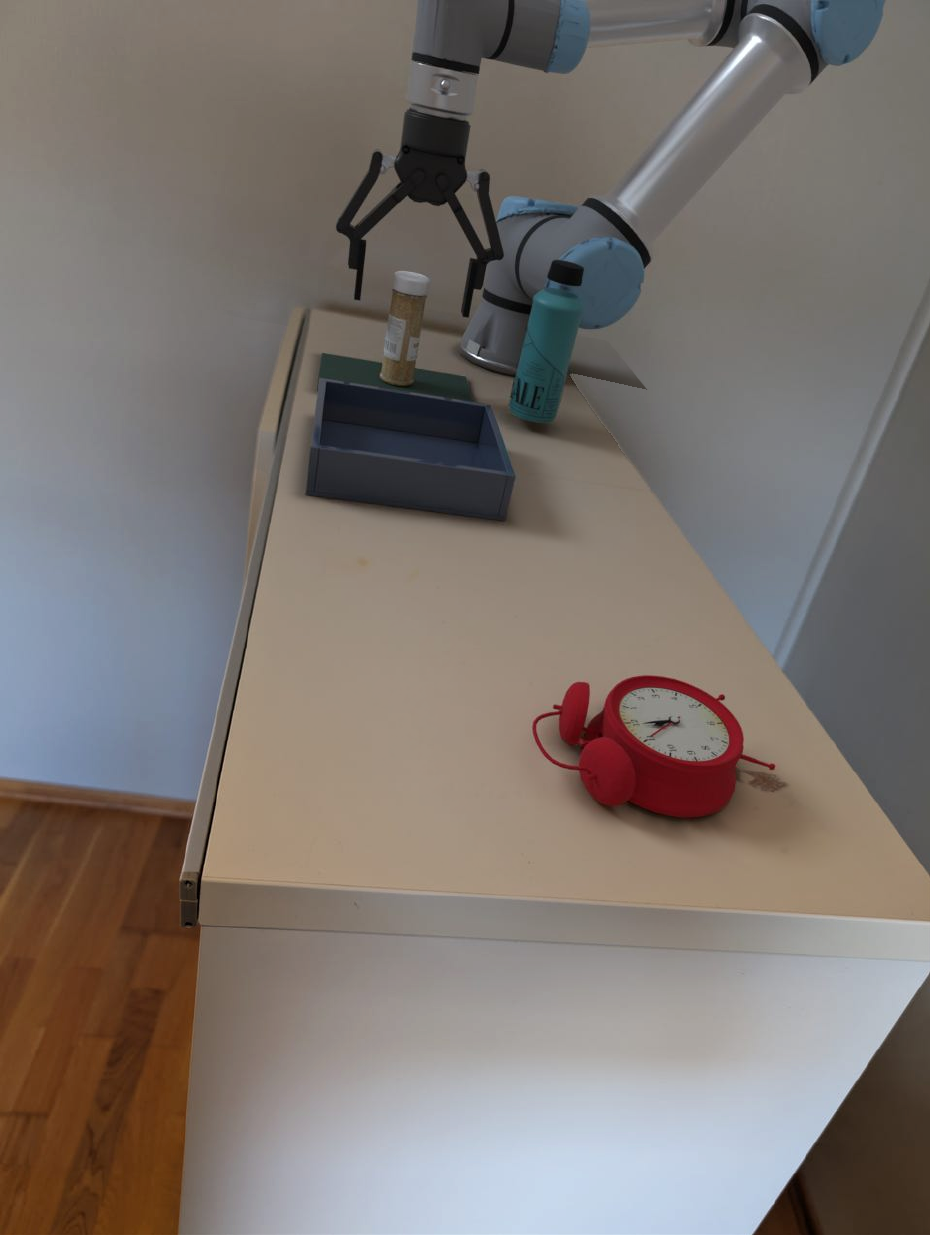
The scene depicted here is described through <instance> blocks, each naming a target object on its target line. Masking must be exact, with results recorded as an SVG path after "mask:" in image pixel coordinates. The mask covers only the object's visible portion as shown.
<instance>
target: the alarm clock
mask: <svg viewBox="0 0 930 1235" xmlns="http://www.w3.org/2000/svg"><path fill="white" fill-rule="evenodd" d="M590 687H591V686H590V684H589V682H586V681H576V682H574V683H572V684H571V685H570V686H569V687H568V688H567V690H566V692H565V693H564V696H563V699H562V702H561V705H559V704H553V705H552V708H553V710H557V711H549V712H546V713H542V714H540V715H538V716H537V717H536V718H535V719H534V720H533V722H532V727H531V730H532V736H533V738H534V741H535V743H536V745H537V747H538V749H539V751H540V752H541V754H542V755H543V757H545V759H547V760H548V761H549V762H550V763H551V764H553V765H555V766H557V767H559V768H562V769H564V770H565V769H566V770H570V771H578V772H579V776H580V780H581V782H582V785H583V787H584V789H585V790H586V791H587V792H588V794H589V795H590V796H591V797H592V798H593V799H594V800H595V801H596V802H598V803H600V804H602V805H605V806H607V807H617V806H620V805H624V804H626V803H627V802H628V801H629V802H630V803H633V804H635V805H637V806H638V807H641V808H642V809H646V810H647V811H651V812H654V813H658V814H660V815H664V816H671V817H677V818H698V817H705V816H709V815H711V814H715V813H716V812H719V811H721V809H723V808H724V807H725V806H726V805H728V803H729V802H730V800H731V799H732V797H733V795H734V793H735V791H736V787H737V773H736V766H737V764H738V762H739V760H742V761H743V760H744V761H746V762H750V763H752V764H756V765H759V766H762V767H766V768H768V769H769V771H775V769H776V765H775V763H772V762H771V763H767V762H764V761H761V760H758V759H757V758H755V757H752V756H749V755H746V754H743V752H744V740H745V737H744V733H743V732H744V731H743V729H742V726H741V725H740V723H739V721H738V719H737V717H736V716H735V715H734V714H733V713H732V711H731V710H730V709H729V708H728V707H727V706H726V705H724V704H723V702H721V701H725V700H726V695H725V694H723V693H721V694H719V695H718V696H717V697H714V696H713V695H712V694H710V693H708V692H707V691H704V690H703V689H701V688H699V687H697V686H695V685H693V684H691V683H689V682H685V681H683V680H679V679H676V678H673V677H672V678H671V677H667V676H661V675H650V674H648V675H647V674H644V675H636V676H635V675H634V676H631V677H627V678H626V679H622V680H621V681H620V682H618V683H616V685H615V686H614V687H613V688H612V689H611V690H610V691H609V693H608V694H607V696H606V699H605V702H604V705H603V709H602V710H601V711H600V712H599V713H598V714H596V715H594V717H592V719H591V720H590V721H589V722H588V724H587V726H586V727H585V725H586V720H587V716H588V711H589V705H590V697H591V689H590ZM552 716H553V717H554V716H558V731H559V735H560V737H561V740H563V742H564V743H567V744H569V745H571V746H577V745H578V744H579V745H580V747H581V748H583V749H582V751H581V753H580V756H579V758H578V759H579V760H578V765H570V764H567V763H562V762H559V761H558V760H556V759H554V758H553V757H552V756H551V755H550V754H549V753H548V752H547V751H546V749H545V747H544V746H543V745H542V742H541V740H540V738H539V735H538V731H537V725H538V723H539V721H541V720H542V719H545V718H548V717H552ZM583 732H584V734H583ZM582 735H583V738H581V737H582Z"/></svg>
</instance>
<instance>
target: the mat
mask: <svg viewBox="0 0 930 1235" xmlns="http://www.w3.org/2000/svg"><path fill="white" fill-rule="evenodd" d="M382 363H383V362H380V361H374V360H369V359H364V358H363V359H362V358H357V357H350V356H344V355H340V354H339V355H338V354H334V353H333V354H332V353H326V352H321V358H320V364H319V365H320V366H319V372H318V380H317V388H316V393H318V385H319V378H324V379H331V380H337V381H343V382H350V383H356V384H362V385H369V386H375V387H381V388H387V389H394V390H400V391H406V392H412V393H419V394H425V395H431V396H438V397H444V398H450V399H456V400H463V401H469V402H474V399H473V396H472V393H471V389H470V386H469V383H468V379H467V376H466V375H461V374H460V375H459V374H453V373H447V372H443V371H442V372H441V371H435V370H430V369H425V368H418V367H417V368H416V367H415V370H414V376H413V378H414V382H413V383H412V385H409V386H396V385H391V384H388V383H386V382H384V381H383V380H382V379H381V378H380V373H381V371H382V365H383V364H382Z"/></svg>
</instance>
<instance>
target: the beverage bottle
mask: <svg viewBox="0 0 930 1235" xmlns="http://www.w3.org/2000/svg"><path fill="white" fill-rule="evenodd" d="M583 273H584V268H583V267H582V266H580V265H578V264H575V263H572V262H568V261H563V260H553V261H552V263H551V267H550V270H549V272H548V275H547V278H548V279H550V280H552V281H554V282H557V283H560V284H564V285H569V286H581V284H582V278H583ZM583 312H584V306H583V304H582V302H581V300H580V299H579V297H578V296H577V295H576V294H574V293H571V292H568V291H565V290H561V289H555V288H545V289H543V290H541V291H540V292H538V293H537V294H536V295H535V296H534V297H533V305H532V309H531V313H530V314H529V315H530V318H529V321H528V325H527V328H526V329H527V330H525V332H526V333H525V337H523V339H524V340H523V341H524V343H523V341H522V343H523V344H522V345H523V347H522V351H521V350H520V352H521V356H520V358H519V359H520V360H519V359H518V360H519V361H518V362H519V364H518V363H517V366H518V369H517V368H516V369H517V373H516V375H515V376H514V378H513V385H512V386H511V391H510V394H509V399H508V401H507V402H508V406H509V407H508V409H509V412H510V413H511V414H512V415H514V416H516V417H518V418H520V419H521V420H525V421H528V422H532V423H539V424H549V423H552V422H554V420H555V419H556V417H557V415H558V413H559V411H560V410H559V409H560V408H561V406H560V405H561V403H562V396H563V395H564V393H563V392H564V388H565V384H566V380H567V378H568V372H569V367H570V366H569V365H570V362H571V359H572V354H573V350H574V347H575V343H576V339H577V335H578V331H579V329H580V328H579V324H580V321H581V317H582V313H583ZM528 317H529V316H528ZM527 320H528V319H527Z"/></svg>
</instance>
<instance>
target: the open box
mask: <svg viewBox="0 0 930 1235" xmlns="http://www.w3.org/2000/svg"><path fill="white" fill-rule="evenodd" d="M318 379H319V385H318V384H317V387H318V392H316V394H317V395H316V401H315V410H314V415H313V425H312V433H311V439H310V447H309V457H308V466H307V476H306V483H305V484H306V486H305V495H307V496H313V497H314V496H316V497H322V498H328V499H336V500H343V501H344V500H345V501H352V502H360V503H367V504H374V505H381V506H388V507H389V506H390V507H397V508H404V509H411V510H419V511H426V512H433V513H434V512H435V513H440V514H441V513H442V514H448V515H456V516H464V517H471V518H479V519H486V520H494V521H499V522H500V521H501V522H505V521H506V519H507V518H506V517H507V514H508V510H509V506H510V502H511V498H512V494H513V490H514V486H515V483H516V477H517V476H516V473H515V470H514V467H513V464H512V461H511V458H510V454H509V452H508V449H507V447H506V444H505V441H504V438H503V436H502V433H501V430H500V427H499V423H498V421H497V418H496V415H495V412H494V410H493V407H492V404H488V403H487V404H486V403H481V402H475V401H473V402H469V401H463V400H456V399H450V398H444V397H438V396H431V395H425V394H419V393H412V392H406V391H400V390H394V389H387V388H381V387H375V386H369V385H362V384H356V383H350V382H343V381H337V380H331V379H324V378H319V377H318Z"/></svg>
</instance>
